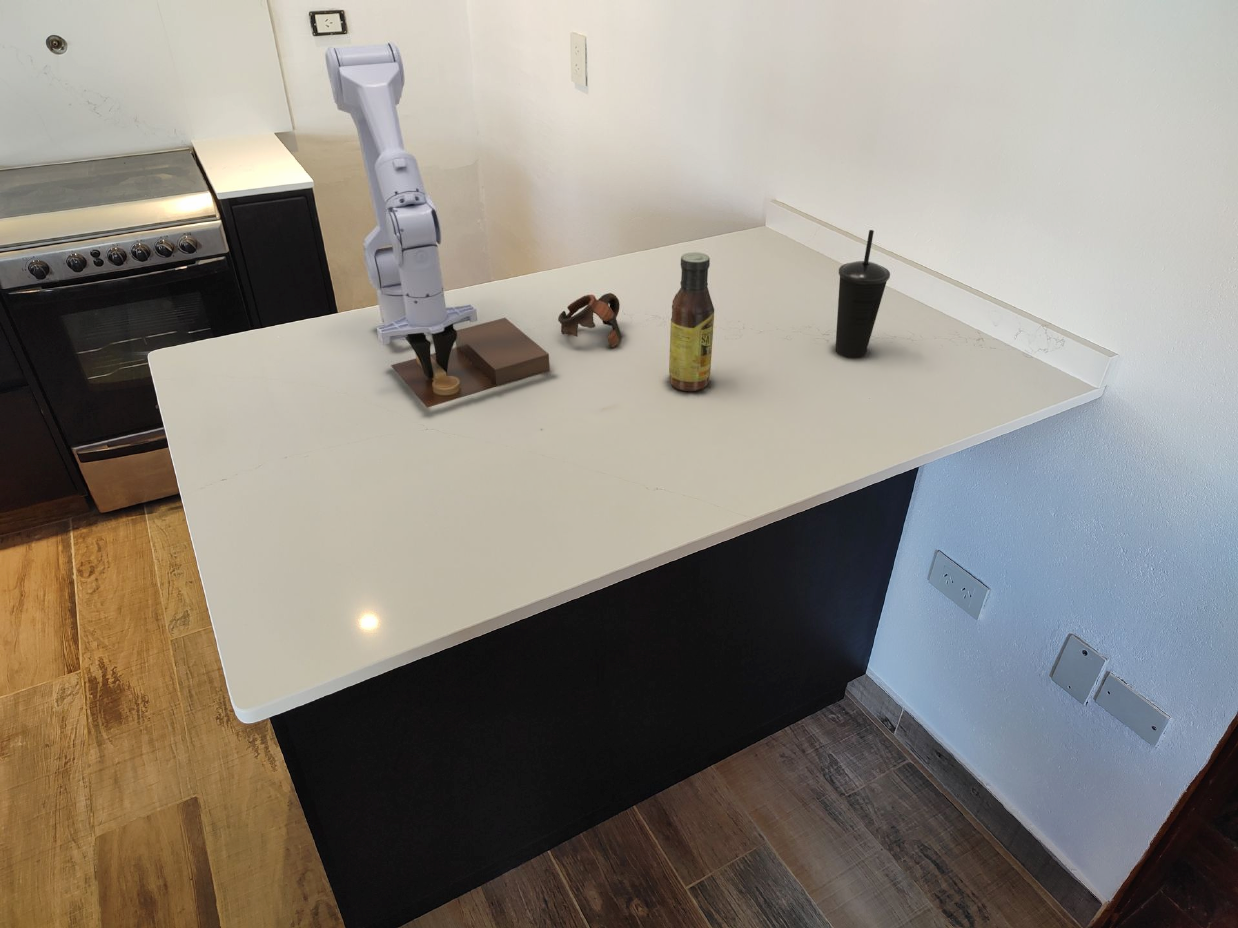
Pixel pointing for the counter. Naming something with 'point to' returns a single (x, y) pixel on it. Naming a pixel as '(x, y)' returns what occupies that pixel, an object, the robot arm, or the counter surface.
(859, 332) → the drinking cup
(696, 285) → the sauce bottle
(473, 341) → the step shelf
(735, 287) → the counter surface
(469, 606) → the counter surface
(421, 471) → the counter surface
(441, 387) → the spoon
